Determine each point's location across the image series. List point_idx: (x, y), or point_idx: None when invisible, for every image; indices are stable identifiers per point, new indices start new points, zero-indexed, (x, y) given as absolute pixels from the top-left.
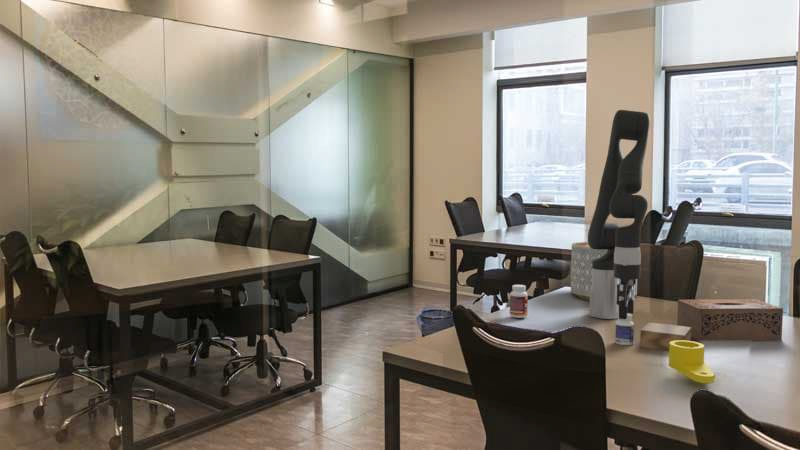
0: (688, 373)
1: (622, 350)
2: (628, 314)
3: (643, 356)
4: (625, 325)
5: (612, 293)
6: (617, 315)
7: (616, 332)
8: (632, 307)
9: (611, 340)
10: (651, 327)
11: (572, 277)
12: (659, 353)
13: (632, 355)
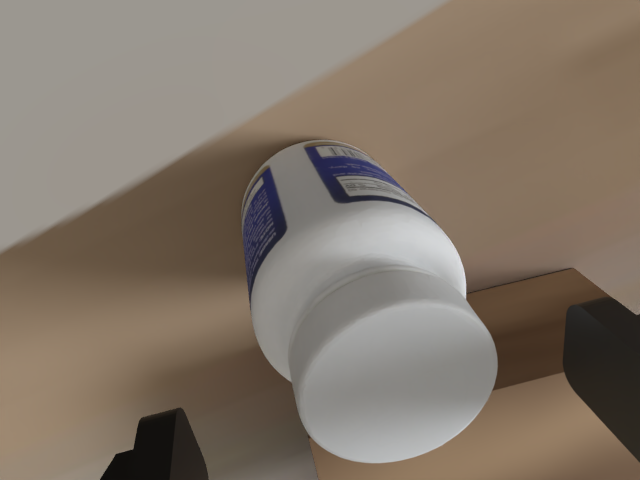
0: None
1: (88, 302)
2: (400, 431)
3: (65, 451)
4: (267, 357)
5: None
6: None
7: (260, 213)
8: (635, 448)
9: (345, 81)
10: (475, 438)
11: None
12: (222, 466)
13: (19, 405)
